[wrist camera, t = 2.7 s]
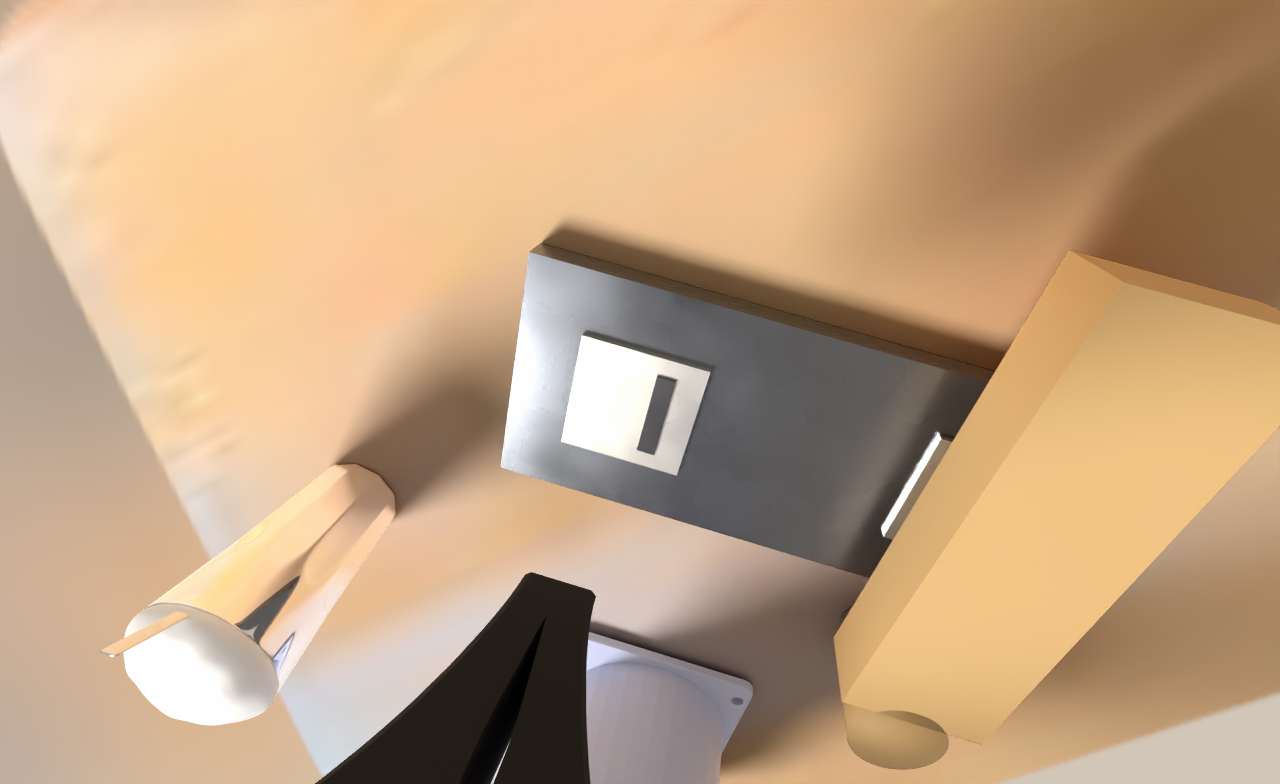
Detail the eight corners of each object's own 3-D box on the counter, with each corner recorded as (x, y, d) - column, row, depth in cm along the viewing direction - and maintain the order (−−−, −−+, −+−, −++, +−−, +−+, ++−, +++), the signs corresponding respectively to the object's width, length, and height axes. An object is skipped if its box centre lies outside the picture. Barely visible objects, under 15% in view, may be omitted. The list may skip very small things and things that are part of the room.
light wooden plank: (925, 717, 22) (942, 786, 20) (807, 680, 22) (812, 745, 20) (1263, 302, 13) (1354, 345, 11) (1069, 249, 14) (1125, 282, 12)
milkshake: (408, 445, 23) (193, 677, 14) (415, 548, 25) (236, 795, 17) (298, 420, 23) (23, 630, 15) (315, 523, 26) (91, 753, 17)
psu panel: (1046, 611, 21) (1061, 641, 20) (510, 451, 22) (496, 472, 21) (1201, 429, 17) (1232, 455, 16) (540, 243, 18) (525, 254, 17)
